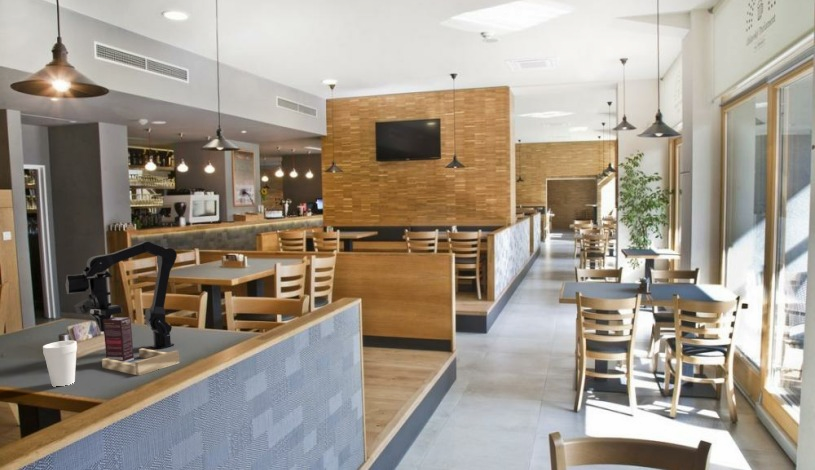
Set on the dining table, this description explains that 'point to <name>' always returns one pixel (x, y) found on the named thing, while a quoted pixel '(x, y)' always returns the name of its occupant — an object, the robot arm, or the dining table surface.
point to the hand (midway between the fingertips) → (102, 331)
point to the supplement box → (118, 338)
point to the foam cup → (61, 362)
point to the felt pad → (136, 361)
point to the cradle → (144, 362)
